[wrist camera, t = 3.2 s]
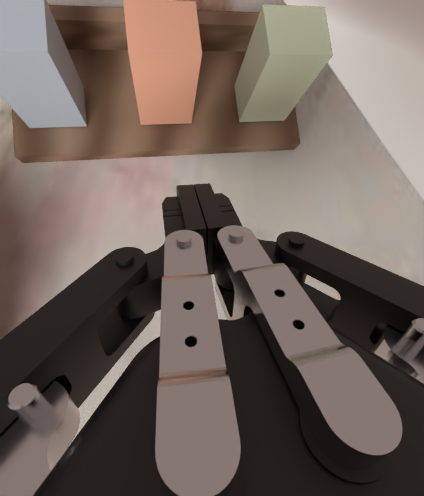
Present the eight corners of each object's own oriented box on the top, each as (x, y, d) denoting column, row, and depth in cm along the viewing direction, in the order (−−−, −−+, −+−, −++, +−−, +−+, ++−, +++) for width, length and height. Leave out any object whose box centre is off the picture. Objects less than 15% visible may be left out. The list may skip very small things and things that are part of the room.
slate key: (29, 128, 26) (-41, 50, 17) (27, 87, 27) (-44, -9, 18) (87, 126, 27) (47, 51, 18) (83, 86, 27) (43, -6, 18)
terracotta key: (140, 124, 28) (128, 52, 19) (136, 86, 28) (122, -2, 19) (191, 123, 29) (202, 53, 20) (187, 86, 29) (195, 1, 20)
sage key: (239, 122, 29) (269, 54, 21) (234, 85, 30) (262, 4, 21) (284, 120, 30) (332, 55, 21) (279, 85, 31) (324, 6, 22)
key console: (22, 162, 27) (-7, 139, 23) (15, 44, 28) (-14, -1, 24) (294, 149, 32) (315, 127, 27) (278, 48, 33) (296, 11, 28)
